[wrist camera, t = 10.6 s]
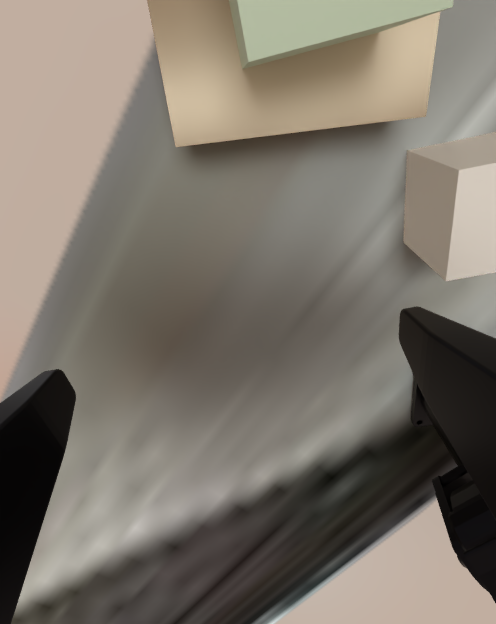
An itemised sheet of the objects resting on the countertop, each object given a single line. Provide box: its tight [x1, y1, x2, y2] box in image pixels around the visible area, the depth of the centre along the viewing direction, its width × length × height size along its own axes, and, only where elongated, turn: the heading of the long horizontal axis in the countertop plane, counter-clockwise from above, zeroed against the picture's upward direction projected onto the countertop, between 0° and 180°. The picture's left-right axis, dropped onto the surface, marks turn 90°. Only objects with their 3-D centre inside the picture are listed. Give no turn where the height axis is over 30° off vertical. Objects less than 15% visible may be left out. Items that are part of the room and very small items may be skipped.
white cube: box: [403, 132, 496, 281], centre depth 18 cm, size 5×5×5 cm
